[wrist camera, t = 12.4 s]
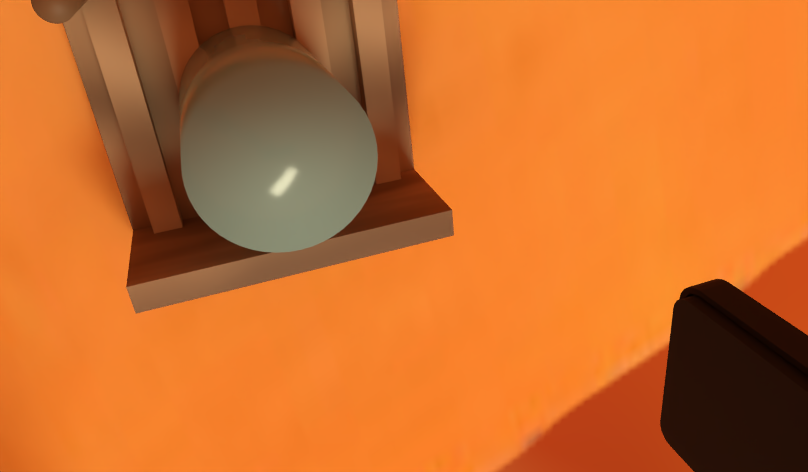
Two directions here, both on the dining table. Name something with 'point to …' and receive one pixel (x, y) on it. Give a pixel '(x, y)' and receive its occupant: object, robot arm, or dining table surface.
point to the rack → (160, 133)
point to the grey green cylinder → (271, 142)
